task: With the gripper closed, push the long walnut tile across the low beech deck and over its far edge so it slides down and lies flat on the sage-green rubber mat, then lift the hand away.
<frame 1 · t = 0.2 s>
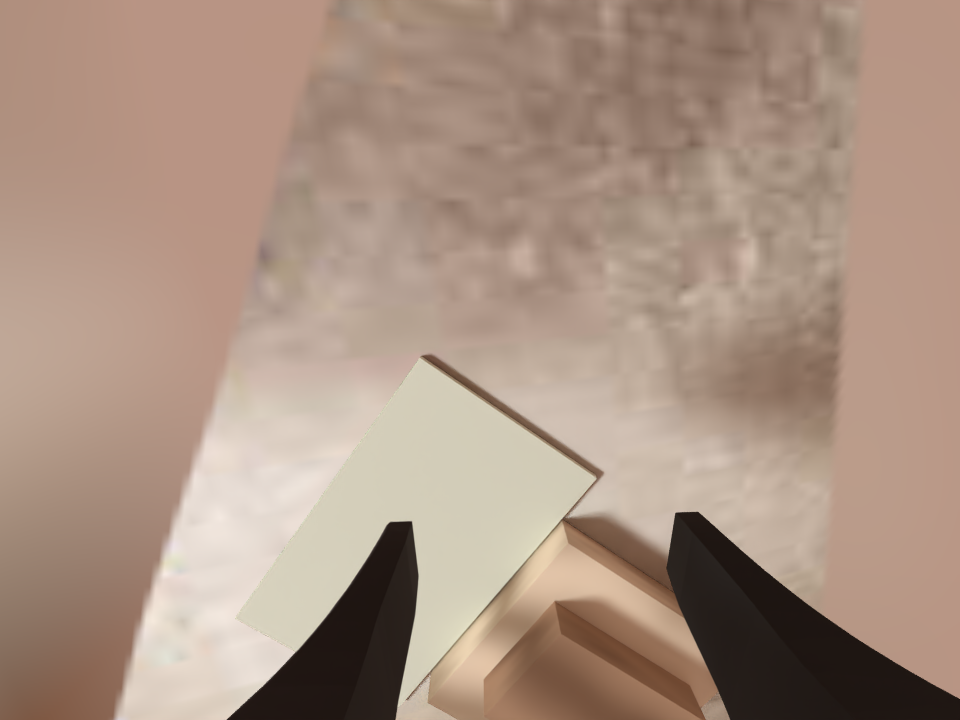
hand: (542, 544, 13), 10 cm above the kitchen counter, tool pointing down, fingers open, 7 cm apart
sage mat: (409, 546, 25), on the kitchen counter
beech deck: (579, 650, 27), on the kitchen counter
walnut tile: (586, 682, 25), point 2 cm above the kitchen counter, touching beech deck
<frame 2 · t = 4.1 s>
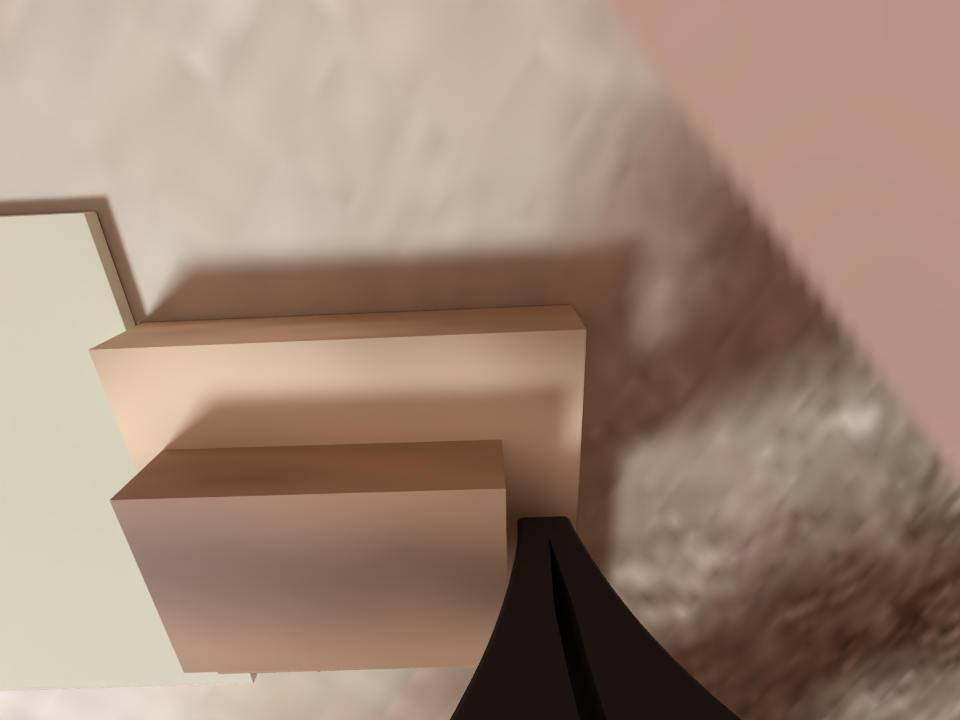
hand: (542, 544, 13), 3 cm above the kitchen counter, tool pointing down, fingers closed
sage mat: (36, 500, 16), on the kitchen counter
beech deck: (382, 488, 16), on the kitchen counter
walnut tile: (348, 532, 14), point 2 cm above the kitchen counter, touching beech deck, gripper
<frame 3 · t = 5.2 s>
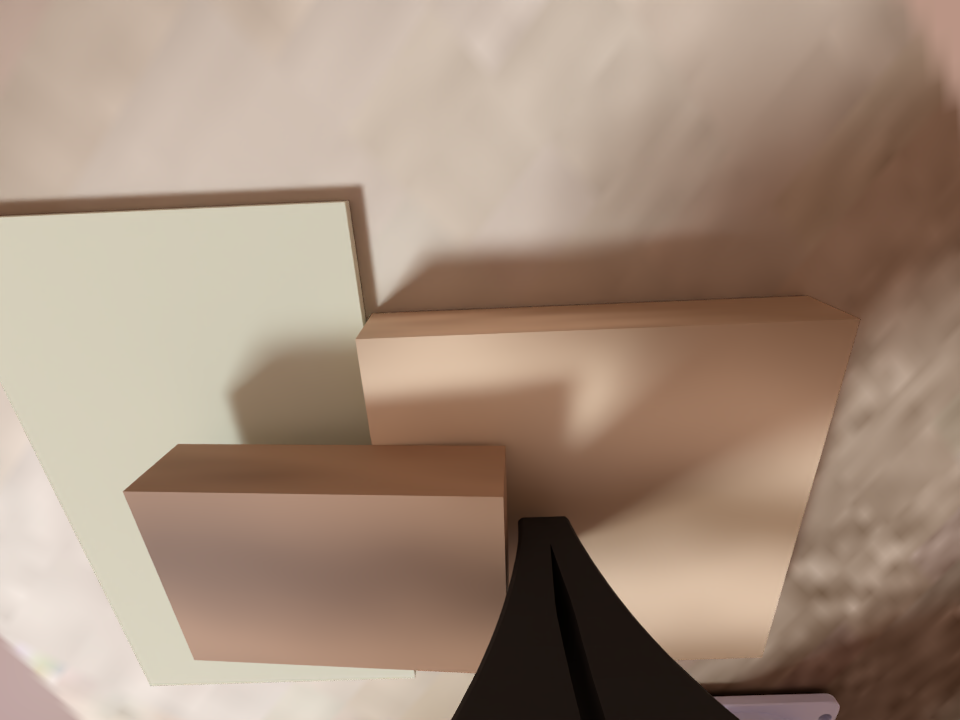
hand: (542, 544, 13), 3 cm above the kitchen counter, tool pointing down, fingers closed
sage mat: (230, 493, 16), on the kitchen counter
beech deck: (579, 481, 16), on the kitchen counter
walnut tile: (353, 531, 14), point 2 cm above the kitchen counter, touching gripper
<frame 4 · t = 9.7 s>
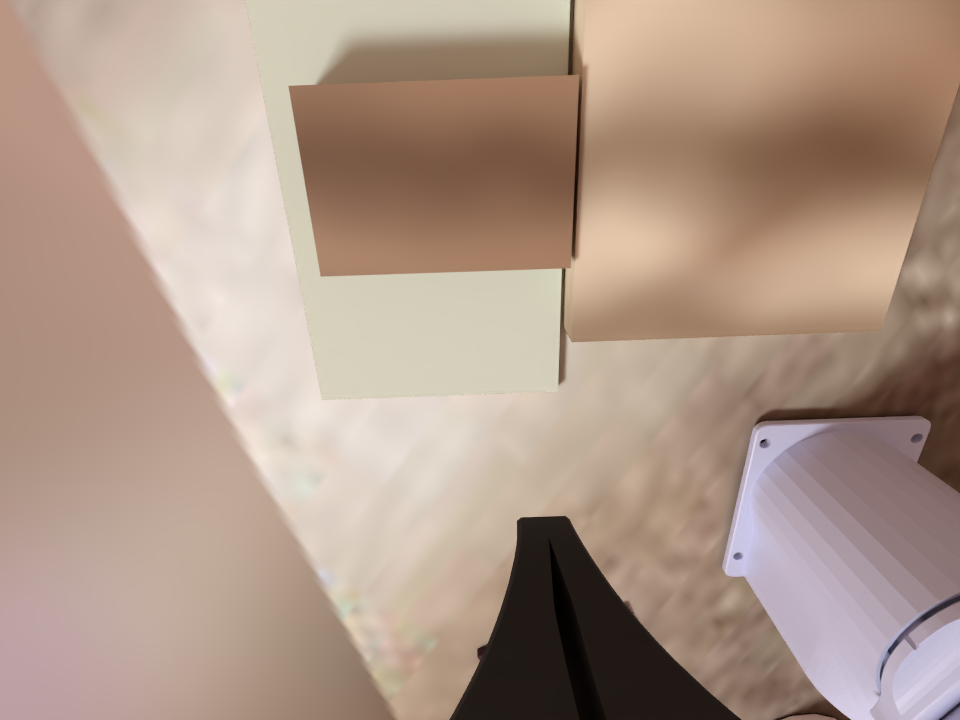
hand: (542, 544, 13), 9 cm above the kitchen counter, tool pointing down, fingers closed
sage mat: (423, 181, 18), on the kitchen counter
beech deck: (727, 169, 18), on the kitchen counter
walnut tile: (443, 180, 18), resting on sage mat
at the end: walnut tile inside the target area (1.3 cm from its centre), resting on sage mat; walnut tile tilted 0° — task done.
